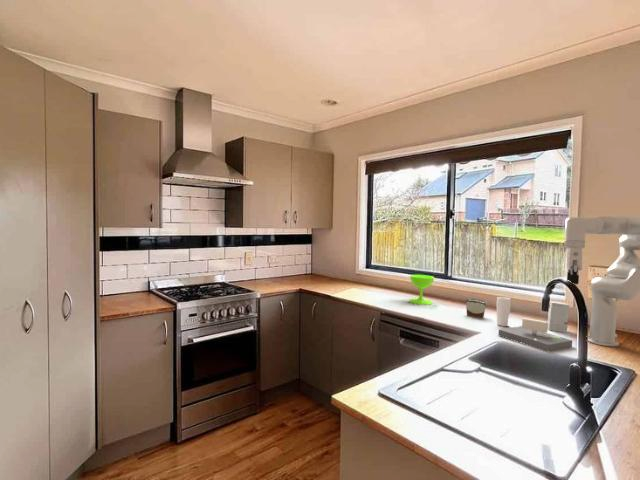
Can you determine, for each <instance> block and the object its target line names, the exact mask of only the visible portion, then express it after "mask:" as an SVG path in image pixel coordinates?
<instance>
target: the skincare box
mask: <svg viewBox="0 0 640 480" xmlns="http://www.w3.org/2000/svg"><path fill="white" fill-rule="evenodd" d="M569 312H570V304H569V303H567V302H566V303H565V302H560V301H553V300H552V301H550V308H549V307H548V315H547V322H548V331H553V332H561V333H567V332H568V326H569V325H568V324H569V323H568V322H569V314H570V313H569Z"/></svg>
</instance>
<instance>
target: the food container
mask: <svg viewBox="0 0 640 480" xmlns="http://www.w3.org/2000/svg"><path fill="white" fill-rule="evenodd" d="M464 302H465V304H466V307H465V308H466V316H468V317H472V318H478V319H484V318H485V312H486V307H487V306H488V303H487V301H486V300H484V299H480V298H473V297H472V298H468V297H467V298H465V301H464Z"/></svg>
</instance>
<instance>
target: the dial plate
mask: <svg viewBox="0 0 640 480" xmlns="http://www.w3.org/2000/svg"><path fill="white" fill-rule="evenodd" d="M538 333H540V334H545V335H551V336H556V337H560V339H558V338H553V337H547V336H542V335H538ZM497 334H498V336H499V335H500V336H499V337H502V336H504V337H503V338H505V337H507V338H506V339H508V338H509V340H511V339H512V340H511V341H514V340H515V342H517V341H518V342H517V343H520V342H522V343H521V344H523V343H525V344H524V345H526V344H528V345H527V346H529V345H531V346H530V347H534V348H537V349H539V348H540V349H539V350H542V349H543V350H542V351H545V350H546V352H548V351H549V352H553V351H558V350H563V349H567V348H572V347H573V339H570V338H569V339H568V338H565V337H562V336H559V335H555V334H551V333H548V332H547V333H545V332H540V331H537V335H534V334H532V330H529V329H524V328H522V325H521V326H515V327H514V326H513V327H507V328H500V329H499V328H498V333H497Z"/></svg>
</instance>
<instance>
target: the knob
mask: <svg viewBox="0 0 640 480" xmlns="http://www.w3.org/2000/svg"><path fill="white" fill-rule="evenodd" d="M521 323H522V324H521V326H522V328H524V329H529V330H532V334H534V335H537V331H540V332H545V333H548V331H549V329H548V321H546V320H545V321H544V320H538V319H533V318H528V317H522V322H521ZM538 335H542V336H547V337H553V338H558V339H560V337H561V336H559V337H556V336H557V335H555V336H551V335H545V334H540V333H538Z"/></svg>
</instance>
